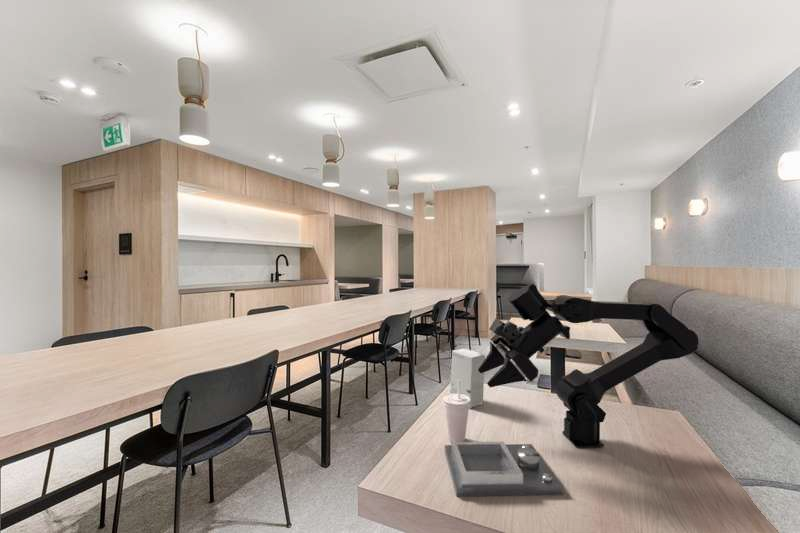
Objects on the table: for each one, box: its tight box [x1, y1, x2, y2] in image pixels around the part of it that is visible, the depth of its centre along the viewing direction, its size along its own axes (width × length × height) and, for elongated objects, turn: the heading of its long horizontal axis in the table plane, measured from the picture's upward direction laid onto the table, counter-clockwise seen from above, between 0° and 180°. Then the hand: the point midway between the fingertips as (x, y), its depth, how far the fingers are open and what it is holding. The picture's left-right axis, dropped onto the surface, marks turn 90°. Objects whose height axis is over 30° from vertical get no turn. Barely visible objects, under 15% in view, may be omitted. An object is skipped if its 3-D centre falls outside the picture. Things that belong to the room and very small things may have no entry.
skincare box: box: [449, 348, 486, 409], centre depth 101 cm, size 8×6×15 cm
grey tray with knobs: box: [444, 441, 564, 497], centre depth 68 cm, size 19×14×4 cm
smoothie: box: [442, 380, 471, 443], centre depth 80 cm, size 6×6×14 cm
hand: (483, 378), depth 79 cm, fingers open, 9 cm apart
